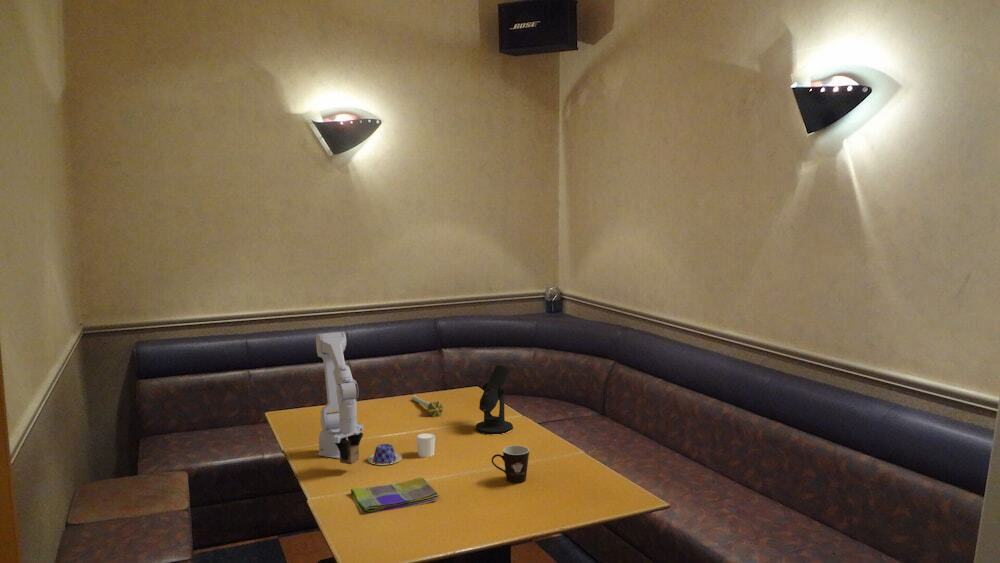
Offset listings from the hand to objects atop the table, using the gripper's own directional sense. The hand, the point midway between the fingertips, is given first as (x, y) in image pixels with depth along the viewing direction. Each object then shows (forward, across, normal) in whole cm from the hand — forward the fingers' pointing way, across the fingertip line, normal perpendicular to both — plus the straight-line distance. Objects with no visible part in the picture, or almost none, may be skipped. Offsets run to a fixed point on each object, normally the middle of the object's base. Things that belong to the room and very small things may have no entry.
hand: (349, 456), depth 245 cm
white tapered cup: (+5, +24, -16) cm, 29 cm away
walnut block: (+2, 0, 0) cm, 2 cm away
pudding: (+6, +14, -5) cm, 16 cm away
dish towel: (+6, -12, -25) cm, 29 cm away
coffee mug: (+5, +15, -53) cm, 55 cm away
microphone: (+5, +60, -27) cm, 66 cm away
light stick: (+6, +74, +12) cm, 75 cm away
